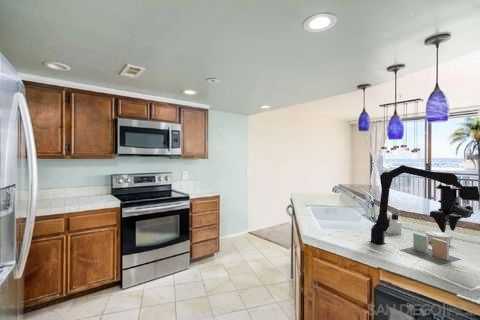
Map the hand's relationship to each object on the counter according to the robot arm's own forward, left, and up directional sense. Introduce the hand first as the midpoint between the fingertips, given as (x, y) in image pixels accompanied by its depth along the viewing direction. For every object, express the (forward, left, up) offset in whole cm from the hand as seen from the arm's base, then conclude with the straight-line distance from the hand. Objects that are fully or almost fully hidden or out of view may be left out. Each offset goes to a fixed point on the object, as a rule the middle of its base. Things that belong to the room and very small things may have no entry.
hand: (448, 231), depth 114 cm
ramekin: (+16, +12, -12) cm, 24 cm away
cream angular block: (-6, 0, -12) cm, 13 cm away
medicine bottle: (+10, +34, -12) cm, 38 cm away
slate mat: (-8, +4, -12) cm, 15 cm away
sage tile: (-6, +8, -12) cm, 15 cm away
